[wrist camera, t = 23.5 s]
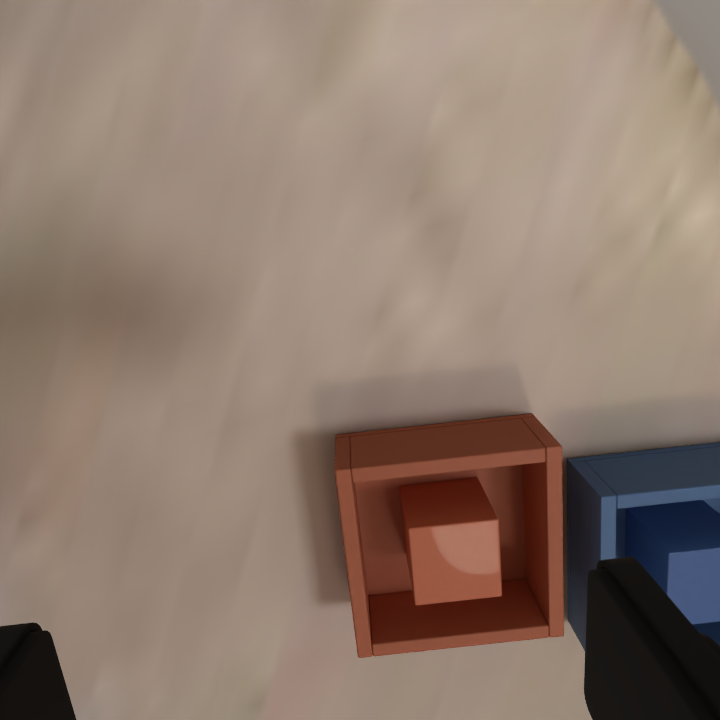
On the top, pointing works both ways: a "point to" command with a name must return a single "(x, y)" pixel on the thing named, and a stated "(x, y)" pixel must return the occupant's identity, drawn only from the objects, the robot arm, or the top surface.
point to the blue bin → (625, 490)
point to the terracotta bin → (516, 529)
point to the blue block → (680, 553)
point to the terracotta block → (451, 541)
